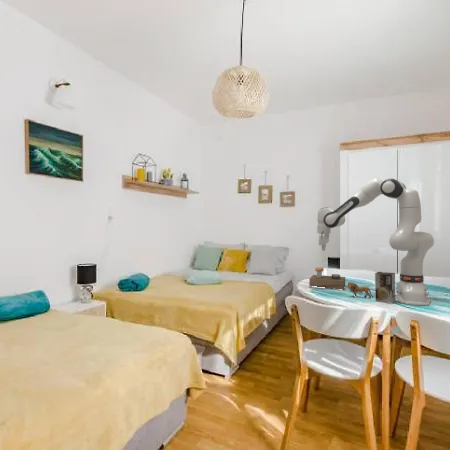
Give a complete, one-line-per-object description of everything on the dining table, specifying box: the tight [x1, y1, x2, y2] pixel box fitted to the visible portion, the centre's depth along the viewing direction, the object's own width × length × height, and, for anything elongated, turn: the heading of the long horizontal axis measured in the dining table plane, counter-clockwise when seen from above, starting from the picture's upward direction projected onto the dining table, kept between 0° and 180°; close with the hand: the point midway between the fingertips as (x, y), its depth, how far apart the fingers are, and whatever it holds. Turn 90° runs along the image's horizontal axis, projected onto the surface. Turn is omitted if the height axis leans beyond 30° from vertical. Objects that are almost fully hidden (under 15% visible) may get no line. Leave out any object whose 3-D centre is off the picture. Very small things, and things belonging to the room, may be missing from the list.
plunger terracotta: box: [314, 266, 325, 278], centre depth 222 cm, size 6×6×8 cm
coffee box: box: [374, 271, 396, 304], centre depth 179 cm, size 9×6×16 cm
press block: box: [308, 274, 346, 290], centre depth 219 cm, size 16×22×6 cm
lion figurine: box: [346, 281, 374, 299], centre depth 189 cm, size 15×5×9 cm, turn 70°
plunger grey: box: [331, 273, 341, 279], centre depth 217 cm, size 6×6×8 cm
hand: (323, 250), depth 221 cm, fingers closed
